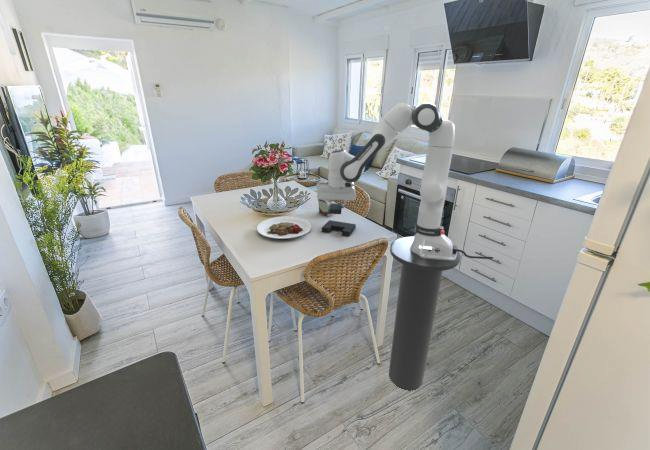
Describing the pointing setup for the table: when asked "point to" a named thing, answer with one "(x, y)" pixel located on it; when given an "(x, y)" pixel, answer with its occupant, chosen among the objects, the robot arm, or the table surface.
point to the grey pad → (335, 208)
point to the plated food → (284, 227)
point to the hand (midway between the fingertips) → (335, 207)
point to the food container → (324, 207)
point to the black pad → (339, 227)
